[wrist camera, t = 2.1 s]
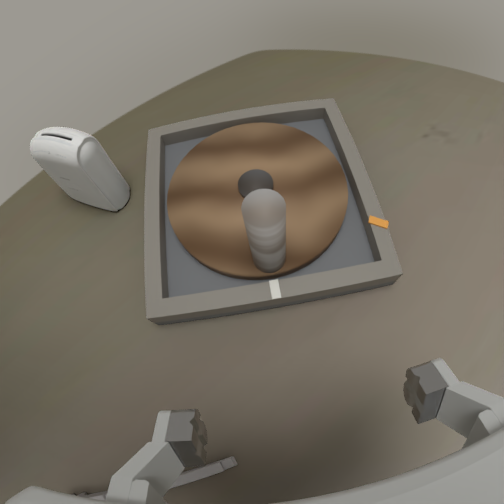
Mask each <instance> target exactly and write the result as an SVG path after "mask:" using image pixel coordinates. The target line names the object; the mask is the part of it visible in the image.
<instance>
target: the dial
mask: <svg viewBox="0 0 504 504" xmlns="http://www.w3.org/2000/svg"><path fill="white" fill-rule="evenodd" d="M347 204H348V187H347V181H346V178H345V174H344V172H343V169H342V167H341V165H340V163H339V162H338V160H337V159H336V157H335V156H334V154H333V153H332V152H331V151H330V150H329V149H328V148H327V147H326V146H325V145H324V144H323V143H322V142H320V141H319V140H317V139H316V138H315V137H313V136H311V135H310V134H308V133H306V132H304V131H301V130H299V129H296V128H294V127H290V126H287V125H282V124H276V123H265V122H261V123H247V124H241V125H236V126H232V127H229V128H226V129H223V130H221V131H219V132H216V133H214V134H212V135H211V136H209V137H207V138H205V139H204V140H203V141H201V142H200V143H198V144H197V145H196V146H195V147H194V148H192V149H191V150H190V151H189V152H188V153H187V155H186V156H185V157H184V158H183V159H182V161H181V162H180V163H179V165H178V166H177V168H176V170H175V172H174V174H173V176H172V179H171V181H170V184H169V189H168V194H167V210H168V216H169V220H170V224H171V226H172V228H173V230H174V233H175V234H176V236H177V237H178V239H179V240H180V242H181V243H182V245H183V246H184V248H185V249H186V250H187V251H188V253H189V254H190V255H191V256H192V257H193V258H195V259H196V260H197V261H198V262H199V263H201V264H202V265H204V266H205V267H207V268H209V269H210V270H212V271H215V272H217V273H219V274H222V275H225V276H229V277H232V278H238V279H244V280H264V279H273V278H277V277H281V276H285V275H288V274H291V273H293V272H296V271H298V270H300V269H302V268H304V267H306V266H307V265H309V264H311V263H312V262H313V261H315V260H316V259H317V258H319V257H320V256H321V255H322V254H323V253H324V252H325V251H326V250H327V249H328V248H329V246H330V245H331V244H332V242H333V241H334V240H335V238H336V236H337V234H338V233H339V231H340V228H341V226H342V223H343V220H344V217H345V214H346V209H347Z"/></svg>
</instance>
